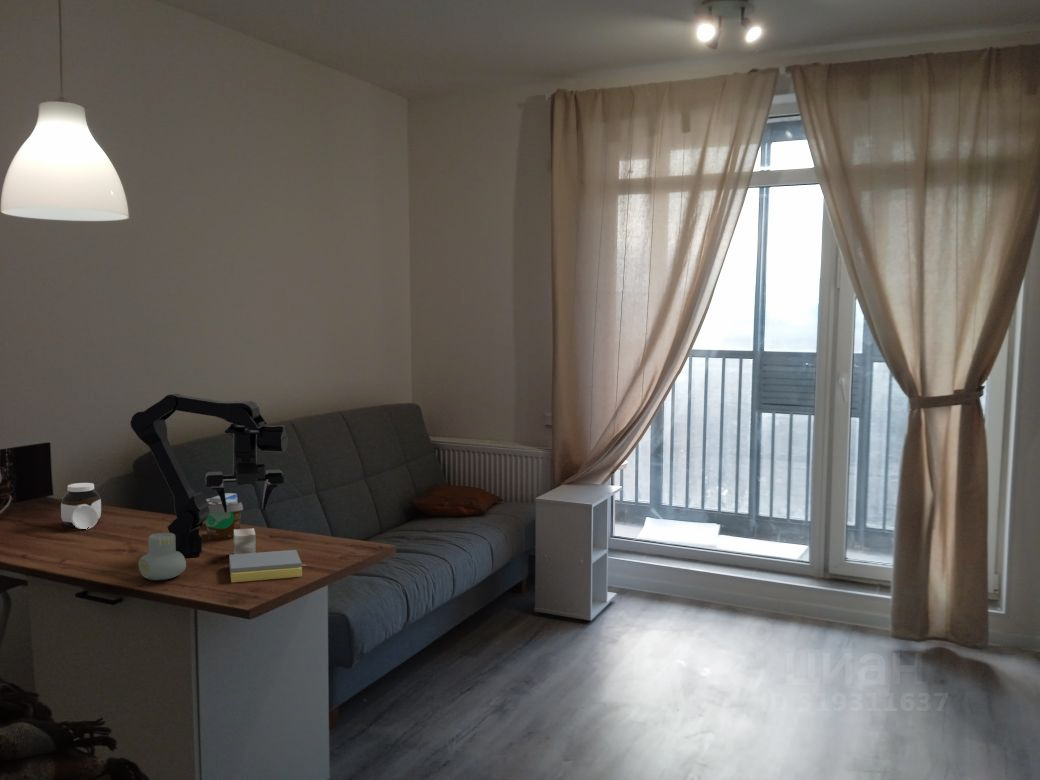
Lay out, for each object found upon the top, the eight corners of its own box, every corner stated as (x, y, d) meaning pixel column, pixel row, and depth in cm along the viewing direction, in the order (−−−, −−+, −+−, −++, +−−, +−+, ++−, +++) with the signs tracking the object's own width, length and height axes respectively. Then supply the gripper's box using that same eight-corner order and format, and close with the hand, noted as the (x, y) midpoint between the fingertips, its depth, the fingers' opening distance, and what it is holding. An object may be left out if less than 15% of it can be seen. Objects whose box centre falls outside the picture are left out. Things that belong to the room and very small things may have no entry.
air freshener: (189, 579, 197) (189, 537, 196) (153, 586, 191) (153, 543, 190) (170, 568, 204) (170, 528, 203) (135, 575, 199) (135, 533, 198)
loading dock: (231, 582, 195) (231, 569, 194) (229, 566, 207) (229, 554, 206) (302, 576, 200) (302, 564, 200) (296, 561, 212) (296, 549, 212)
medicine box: (223, 528, 243) (223, 498, 243) (209, 527, 244) (209, 497, 243) (238, 522, 251) (237, 493, 250) (224, 521, 252) (224, 492, 251)
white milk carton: (235, 562, 211) (234, 536, 210) (233, 553, 218) (233, 529, 218) (255, 560, 213) (255, 535, 212) (253, 552, 220) (253, 527, 220)
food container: (192, 537, 232) (192, 502, 232) (208, 532, 238) (208, 497, 237) (227, 543, 228) (227, 506, 227) (243, 537, 233) (243, 502, 233)
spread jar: (85, 519, 250) (84, 480, 249) (115, 523, 246) (114, 484, 245) (51, 528, 239) (50, 488, 238) (81, 532, 235) (80, 491, 234)
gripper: (206, 457, 202) (206, 520, 204) (286, 454, 209) (285, 516, 211) (205, 450, 213) (205, 510, 214) (281, 448, 220) (281, 506, 221)
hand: (244, 511), depth 215 cm, fingers open, 9 cm apart
